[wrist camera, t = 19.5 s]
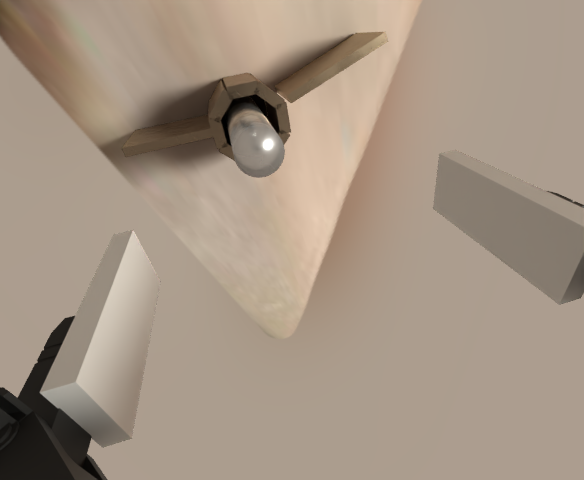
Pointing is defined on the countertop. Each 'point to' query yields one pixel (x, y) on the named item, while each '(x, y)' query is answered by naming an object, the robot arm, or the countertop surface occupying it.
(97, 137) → the countertop surface
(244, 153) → the hinge pin
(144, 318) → the robot arm
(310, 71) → the loose leaf
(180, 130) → the knuckle and fixed leaf
